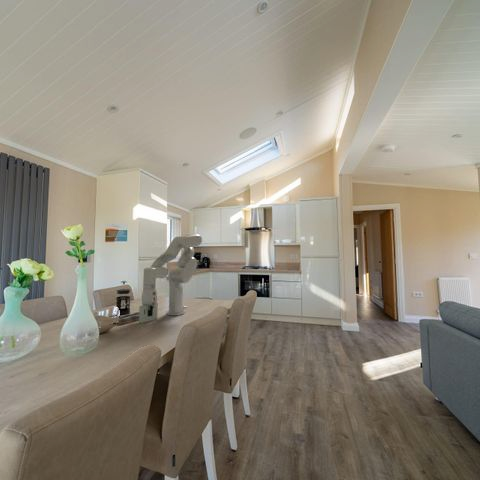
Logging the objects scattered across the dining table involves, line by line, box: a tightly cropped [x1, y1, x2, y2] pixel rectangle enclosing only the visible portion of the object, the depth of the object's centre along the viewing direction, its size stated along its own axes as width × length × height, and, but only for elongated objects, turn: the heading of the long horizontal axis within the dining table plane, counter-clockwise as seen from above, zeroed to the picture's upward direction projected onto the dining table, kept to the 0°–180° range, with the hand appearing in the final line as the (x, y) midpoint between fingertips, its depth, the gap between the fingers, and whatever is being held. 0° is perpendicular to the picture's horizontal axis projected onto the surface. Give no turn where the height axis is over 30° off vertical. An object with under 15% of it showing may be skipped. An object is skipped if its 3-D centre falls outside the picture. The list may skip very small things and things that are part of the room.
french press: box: [115, 280, 131, 316], centre depth 170 cm, size 12×9×23 cm
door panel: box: [138, 302, 159, 324], centre depth 156 cm, size 12×3×10 cm, turn 148°
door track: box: [115, 311, 139, 326], centre depth 157 cm, size 20×11×3 cm, turn 148°
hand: (148, 315), depth 156 cm, fingers closed on door panel, 2 cm apart
